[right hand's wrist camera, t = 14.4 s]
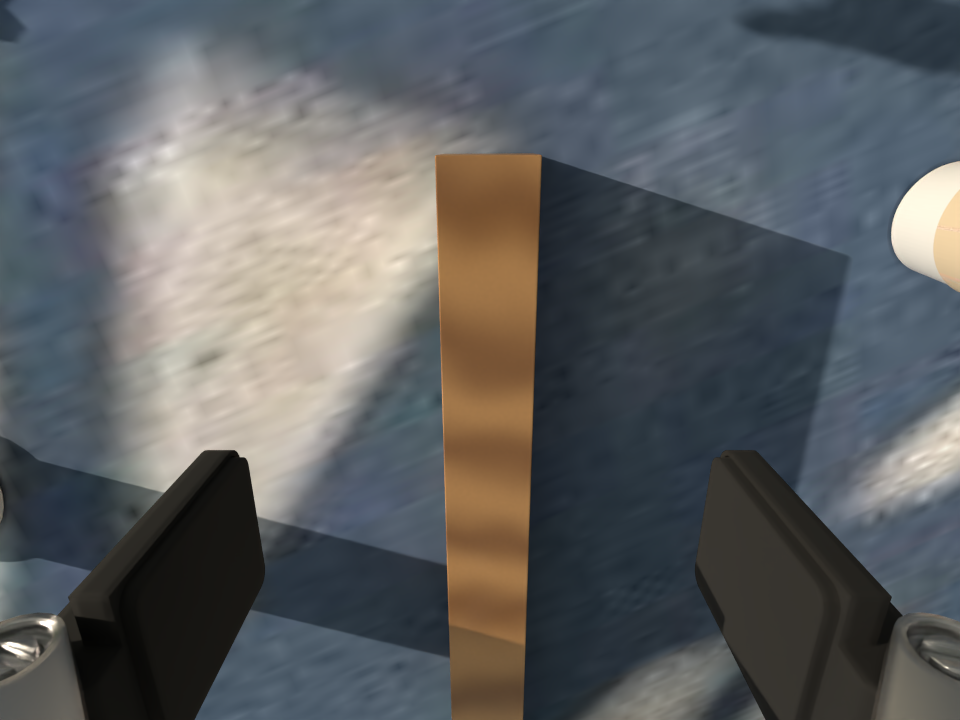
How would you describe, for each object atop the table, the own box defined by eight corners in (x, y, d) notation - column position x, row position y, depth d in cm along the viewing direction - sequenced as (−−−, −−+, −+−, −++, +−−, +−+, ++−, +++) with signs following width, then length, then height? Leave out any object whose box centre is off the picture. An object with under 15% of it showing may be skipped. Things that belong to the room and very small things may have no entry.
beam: (444, 153, 34) (434, 155, 29) (534, 153, 34) (542, 154, 29) (462, 896, 61) (459, 967, 55) (512, 897, 61) (514, 969, 55)
